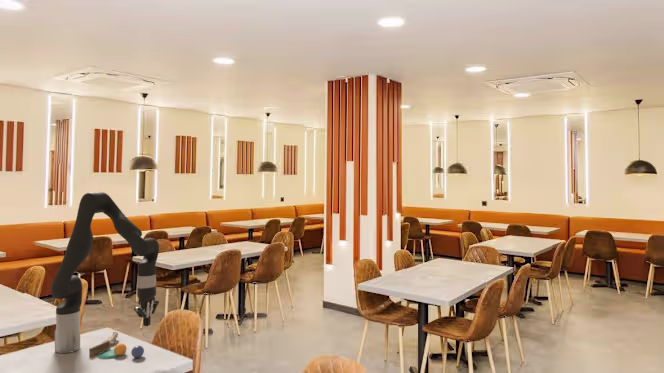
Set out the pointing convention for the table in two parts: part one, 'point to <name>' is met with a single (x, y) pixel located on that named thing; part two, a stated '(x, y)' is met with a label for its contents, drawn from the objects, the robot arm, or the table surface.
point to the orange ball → (120, 349)
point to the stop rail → (99, 348)
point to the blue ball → (137, 351)
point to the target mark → (108, 354)
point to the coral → (112, 338)
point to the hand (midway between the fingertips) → (146, 325)
